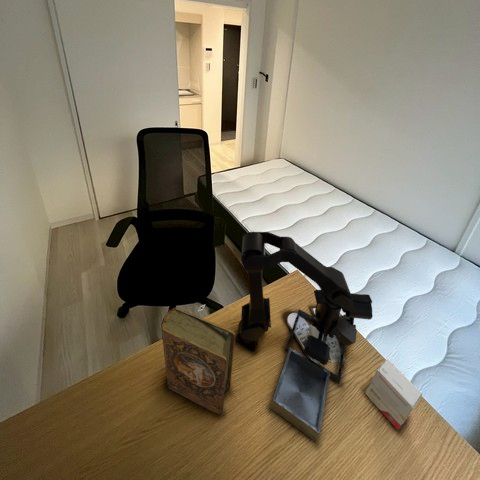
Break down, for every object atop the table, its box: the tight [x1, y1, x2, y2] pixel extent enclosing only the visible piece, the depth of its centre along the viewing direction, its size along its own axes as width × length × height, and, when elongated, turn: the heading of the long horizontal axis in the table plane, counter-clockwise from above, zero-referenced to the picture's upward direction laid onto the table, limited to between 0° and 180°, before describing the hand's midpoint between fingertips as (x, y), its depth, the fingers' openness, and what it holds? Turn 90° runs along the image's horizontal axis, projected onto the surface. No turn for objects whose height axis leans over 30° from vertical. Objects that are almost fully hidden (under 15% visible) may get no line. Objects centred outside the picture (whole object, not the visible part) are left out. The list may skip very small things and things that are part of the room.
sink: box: [270, 346, 331, 442], centre depth 63 cm, size 11×13×4 cm
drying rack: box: [284, 308, 346, 385], centre depth 74 cm, size 16×14×4 cm
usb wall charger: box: [308, 324, 324, 340], centre depth 74 cm, size 4×7×4 cm, turn 174°
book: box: [160, 306, 236, 416], centre depth 58 cm, size 16×6×25 cm, turn 71°
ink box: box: [365, 358, 423, 431], centre depth 61 cm, size 9×5×12 cm, turn 33°
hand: (316, 342), depth 75 cm, fingers closed on usb wall charger, 7 cm apart
